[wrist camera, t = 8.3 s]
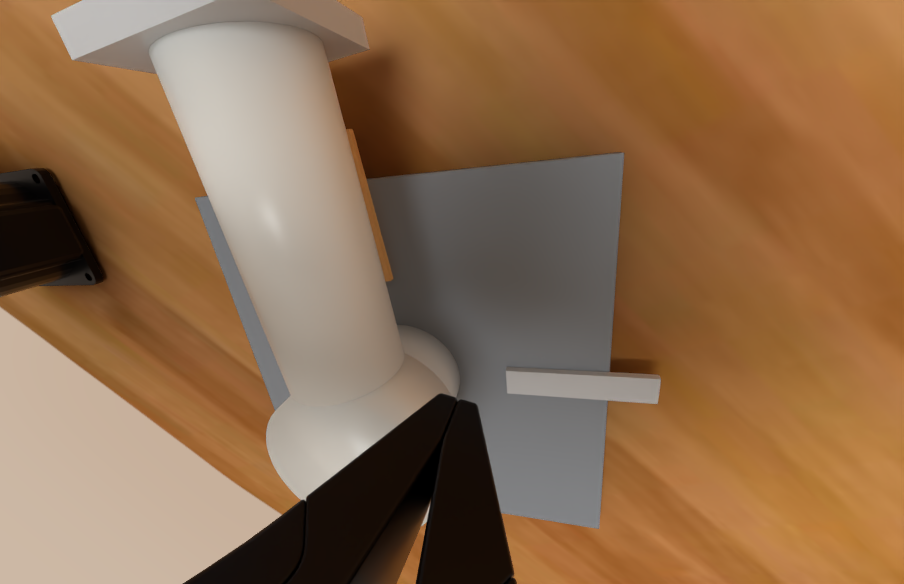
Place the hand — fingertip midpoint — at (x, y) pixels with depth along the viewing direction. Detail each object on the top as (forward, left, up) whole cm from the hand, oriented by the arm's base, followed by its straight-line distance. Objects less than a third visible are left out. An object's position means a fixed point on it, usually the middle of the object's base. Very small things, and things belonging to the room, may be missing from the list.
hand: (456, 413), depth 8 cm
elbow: (-5, +1, -6) cm, 8 cm away
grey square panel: (-4, -4, -8) cm, 10 cm away
